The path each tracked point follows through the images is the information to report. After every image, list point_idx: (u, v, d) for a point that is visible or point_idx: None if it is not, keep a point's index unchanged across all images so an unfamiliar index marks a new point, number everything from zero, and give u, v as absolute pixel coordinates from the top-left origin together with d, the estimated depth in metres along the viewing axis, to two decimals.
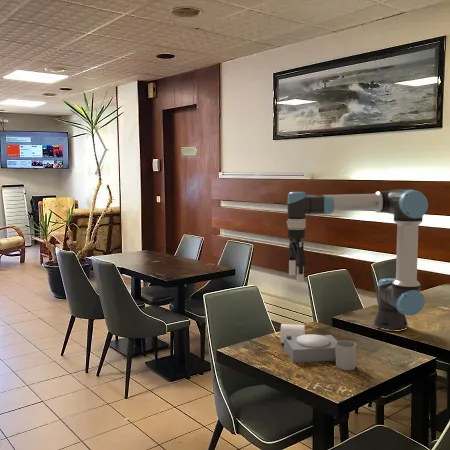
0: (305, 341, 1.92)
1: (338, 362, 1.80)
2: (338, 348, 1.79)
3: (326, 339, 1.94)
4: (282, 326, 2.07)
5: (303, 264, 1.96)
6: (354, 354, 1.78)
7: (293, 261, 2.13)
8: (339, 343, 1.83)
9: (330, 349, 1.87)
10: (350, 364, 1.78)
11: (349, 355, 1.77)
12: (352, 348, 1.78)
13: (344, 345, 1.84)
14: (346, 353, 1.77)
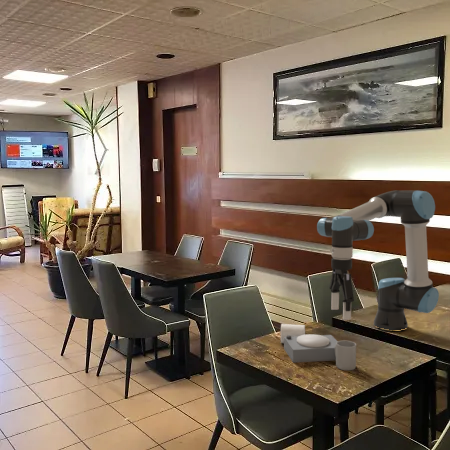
0: (305, 341, 1.92)
1: (338, 362, 1.80)
2: (338, 348, 1.79)
3: (326, 339, 1.94)
4: (282, 326, 2.07)
5: (351, 300, 1.71)
6: (354, 354, 1.78)
7: (336, 294, 1.88)
8: (339, 343, 1.83)
9: (330, 349, 1.87)
10: (350, 364, 1.78)
11: (349, 355, 1.77)
12: (352, 348, 1.78)
13: (344, 345, 1.84)
14: (346, 353, 1.77)
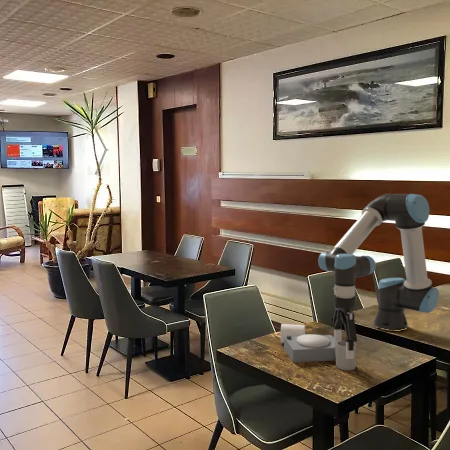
0: (305, 341, 1.92)
1: (338, 362, 1.80)
2: (338, 348, 1.79)
3: (326, 339, 1.94)
4: (282, 326, 2.07)
5: (354, 340, 1.72)
6: (354, 354, 1.78)
7: (339, 331, 1.88)
8: (339, 343, 1.83)
9: (330, 349, 1.87)
10: (350, 364, 1.78)
11: None
12: None
13: (344, 345, 1.84)
14: None
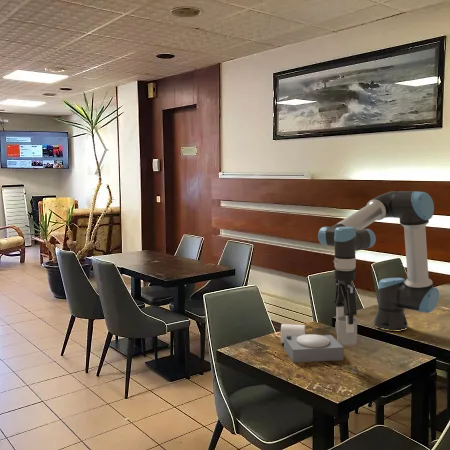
0: (305, 341, 1.92)
1: (339, 337, 1.79)
2: (339, 323, 1.79)
3: (326, 339, 1.94)
4: (282, 326, 2.07)
5: (354, 314, 1.73)
6: (355, 329, 1.78)
7: (341, 308, 1.86)
8: (340, 319, 1.83)
9: (330, 349, 1.87)
10: (351, 339, 1.77)
11: None
12: None
13: (345, 320, 1.84)
14: None
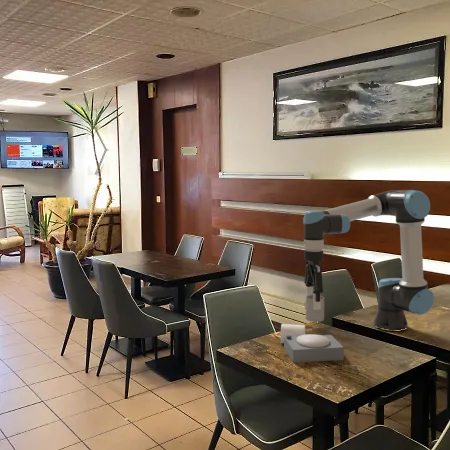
0: (305, 341, 1.92)
1: (307, 314, 1.90)
2: (307, 301, 1.90)
3: (326, 339, 1.94)
4: (282, 326, 2.07)
5: (320, 291, 1.84)
6: (322, 306, 1.89)
7: (310, 288, 1.97)
8: (308, 297, 1.94)
9: (330, 349, 1.87)
10: (318, 315, 1.88)
11: None
12: None
13: None
14: None
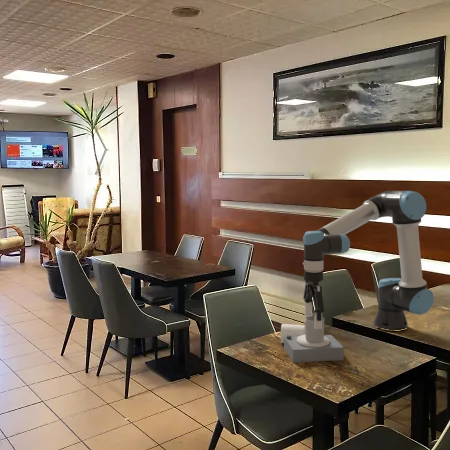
0: (305, 341, 1.92)
1: (307, 336, 1.91)
2: (307, 322, 1.91)
3: (326, 339, 1.94)
4: (282, 326, 2.07)
5: (322, 311, 1.83)
6: (322, 328, 1.90)
7: (309, 304, 1.99)
8: (308, 318, 1.95)
9: (330, 349, 1.87)
10: (318, 337, 1.89)
11: (317, 329, 1.89)
12: None
13: (313, 320, 1.96)
14: None
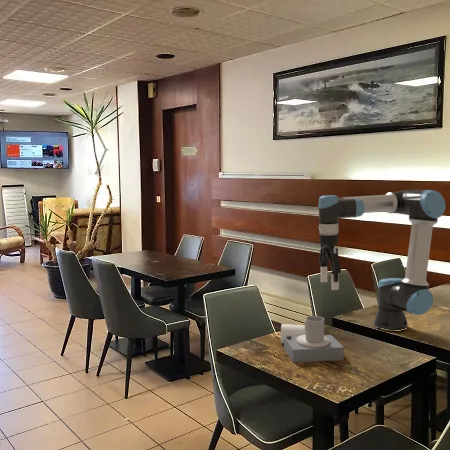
0: (305, 341, 1.92)
1: (307, 336, 1.91)
2: (307, 322, 1.91)
3: (326, 339, 1.94)
4: (282, 326, 2.07)
5: (339, 271, 1.87)
6: (322, 328, 1.90)
7: (325, 267, 2.04)
8: (308, 318, 1.95)
9: (330, 349, 1.87)
10: (318, 337, 1.89)
11: (317, 329, 1.89)
12: (320, 322, 1.89)
13: (313, 320, 1.96)
14: (315, 327, 1.89)
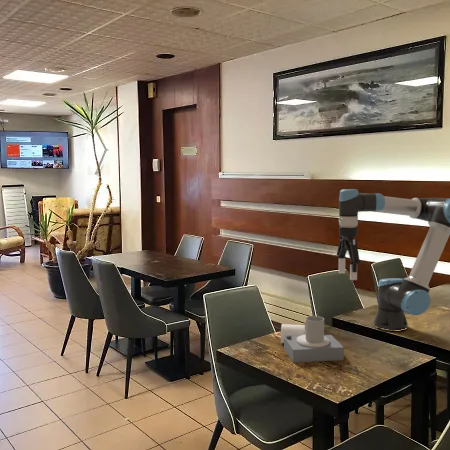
0: (305, 341, 1.92)
1: (307, 336, 1.91)
2: (307, 322, 1.91)
3: (326, 339, 1.94)
4: (282, 326, 2.07)
5: (357, 262, 1.94)
6: (322, 328, 1.90)
7: (343, 259, 2.11)
8: (308, 318, 1.95)
9: (330, 349, 1.87)
10: (318, 337, 1.89)
11: (317, 329, 1.89)
12: (320, 322, 1.89)
13: (313, 320, 1.96)
14: (315, 327, 1.89)
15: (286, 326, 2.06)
